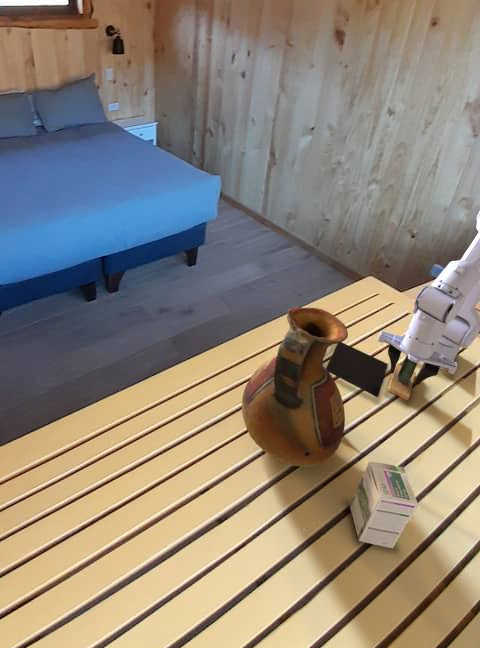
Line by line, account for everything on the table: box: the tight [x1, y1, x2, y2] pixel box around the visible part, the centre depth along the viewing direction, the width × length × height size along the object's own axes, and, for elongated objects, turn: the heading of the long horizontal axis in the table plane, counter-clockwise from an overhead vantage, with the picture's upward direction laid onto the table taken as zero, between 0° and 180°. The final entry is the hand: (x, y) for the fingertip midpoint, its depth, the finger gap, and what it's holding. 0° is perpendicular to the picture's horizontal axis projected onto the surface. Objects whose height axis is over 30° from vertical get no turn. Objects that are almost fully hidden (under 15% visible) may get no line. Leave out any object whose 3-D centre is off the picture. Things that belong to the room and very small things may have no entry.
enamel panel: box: [325, 342, 389, 398], centre depth 100 cm, size 12×12×2 cm
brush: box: [387, 355, 419, 402], centre depth 94 cm, size 9×4×10 cm, turn 138°
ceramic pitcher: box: [241, 306, 349, 467], centre depth 81 cm, size 20×20×30 cm
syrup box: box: [349, 461, 419, 549], centre depth 69 cm, size 6×6×14 cm
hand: (404, 375), depth 95 cm, fingers open, 4 cm apart
